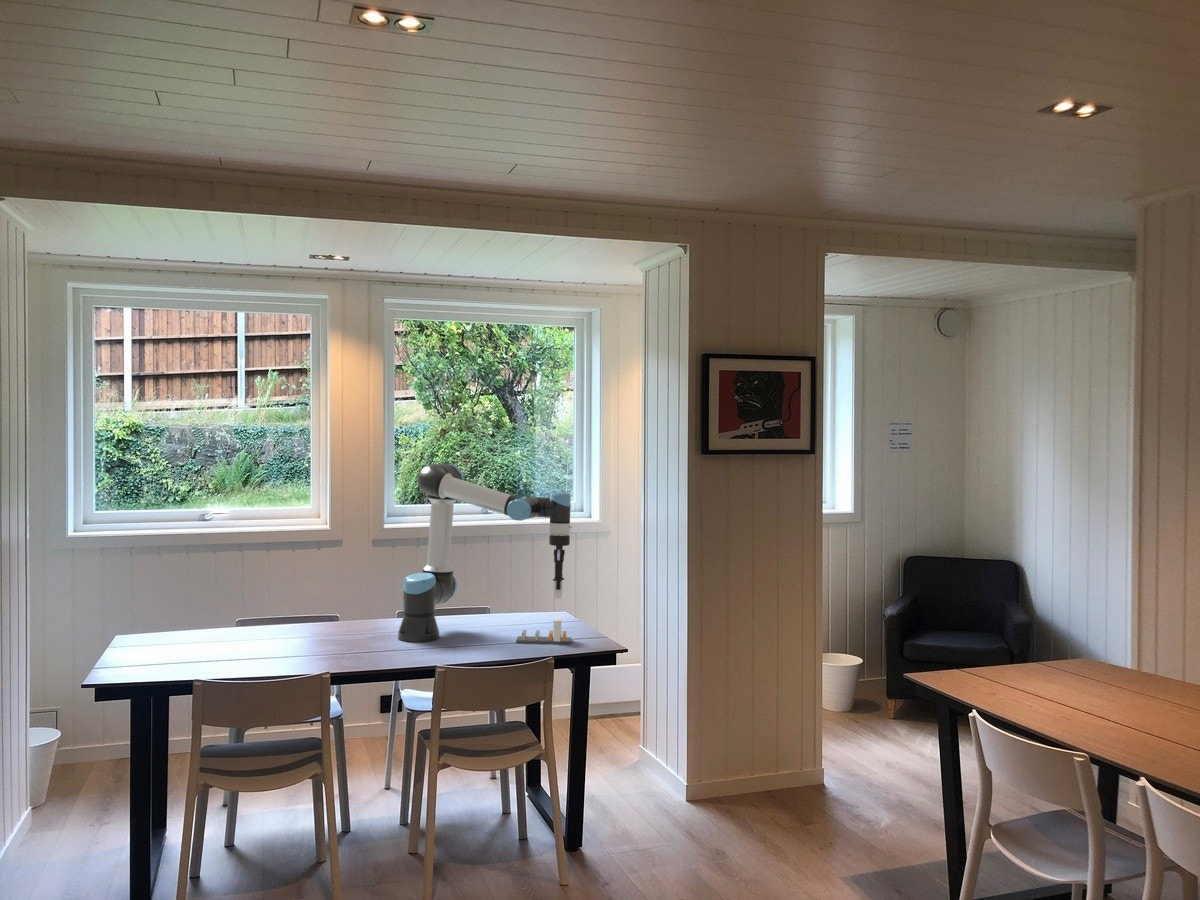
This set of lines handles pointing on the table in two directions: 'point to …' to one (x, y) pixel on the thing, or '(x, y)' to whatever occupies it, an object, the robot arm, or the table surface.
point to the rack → (543, 638)
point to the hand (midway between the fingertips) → (558, 598)
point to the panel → (557, 628)
